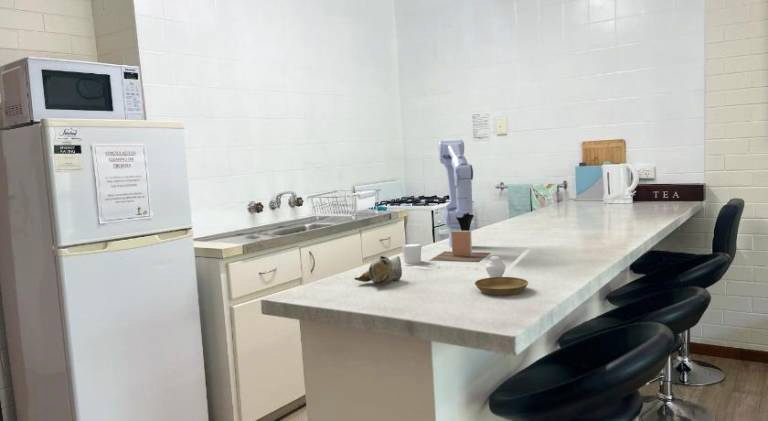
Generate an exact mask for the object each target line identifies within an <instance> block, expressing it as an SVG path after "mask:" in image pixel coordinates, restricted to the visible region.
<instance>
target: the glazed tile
mask: <svg viewBox="0 0 768 421" xmlns="http://www.w3.org/2000/svg"><path fill="white" fill-rule="evenodd" d="M472 244H473V243H472V230H469V231H452V247H451V250H452V251H451V252H452V256H472V252H473V246H472Z"/></svg>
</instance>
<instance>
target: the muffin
mask: <svg viewBox="0 0 768 421" xmlns="http://www.w3.org/2000/svg"><path fill="white" fill-rule="evenodd" d="M484 268H485V270H486V272H487V274H488V276H489V278H491V277H504V273H505V271H506V268H507V266H506V264H505V263H504V262H503V260H502V258H501V257H500V256H498V255H493V256H490V258H489V261H488V262H487V263H486V264H485V267H484Z"/></svg>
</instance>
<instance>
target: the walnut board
mask: <svg viewBox="0 0 768 421" xmlns="http://www.w3.org/2000/svg"><path fill="white" fill-rule="evenodd" d="M490 254H491V252H481V251H480V252H478V251H472V256H452V251H446V250H445V251H443V252H441V253H439V254H438V255H436V256H434V257H432V258H431V259H429V260H428V261H429V262H456V263H459V262H461V263H480V262H481V261H483V260H484V259H485V258H486V257H487V256H489V255H490Z"/></svg>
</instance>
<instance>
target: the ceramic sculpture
mask: <svg viewBox="0 0 768 421" xmlns="http://www.w3.org/2000/svg"><path fill="white" fill-rule="evenodd" d="M401 262H402V261H401V257H400V256H396V257H394V258H391V259H390V258H388V257H387V256H383V255H381V256H380V257H379V259H378V260H375V261H373V262H371V263H370V264H369V267H368V270H367V271H366V272H363V273H362V274H361V275H360V276H359V277H354V280H355V281H359V282H363V283H367V282H371V281H372V282H373V284H374V285H377V286H382V285H384V284H386V283H388V282H389V281H391V280H392V281H399V280H401V279H402V276H403V267H402V263H401Z"/></svg>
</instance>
